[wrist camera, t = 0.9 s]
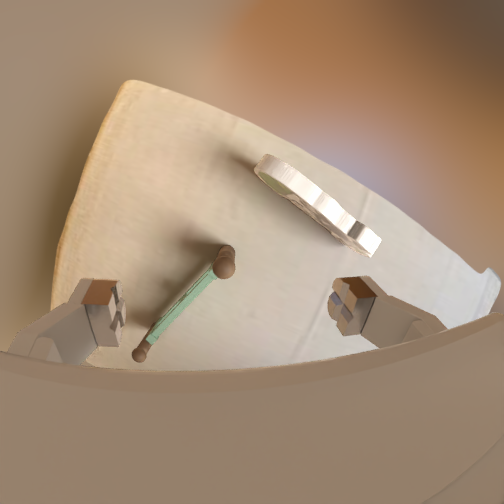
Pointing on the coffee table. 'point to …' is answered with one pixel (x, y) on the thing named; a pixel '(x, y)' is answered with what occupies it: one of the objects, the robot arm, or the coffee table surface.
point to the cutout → (316, 204)
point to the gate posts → (221, 269)
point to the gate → (181, 305)
